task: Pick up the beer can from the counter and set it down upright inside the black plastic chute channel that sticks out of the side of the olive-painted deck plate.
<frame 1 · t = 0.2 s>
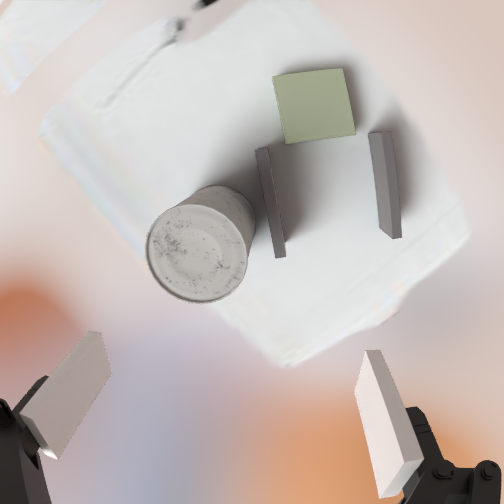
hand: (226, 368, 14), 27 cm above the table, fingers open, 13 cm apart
chute: (326, 188, 37), on the table
deck: (312, 107, 34), on the table
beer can: (217, 222, 40), on the table
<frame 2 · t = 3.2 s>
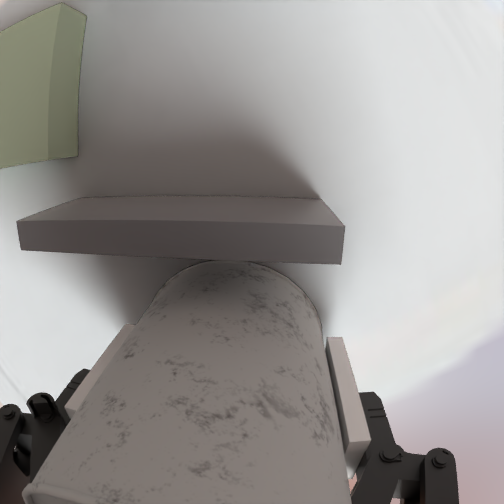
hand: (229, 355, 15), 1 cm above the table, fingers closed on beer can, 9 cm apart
chute: (189, 63, 12), on the table
deck: (27, 96, 13), on the table
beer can: (233, 340, 17), on the table, touching gripper
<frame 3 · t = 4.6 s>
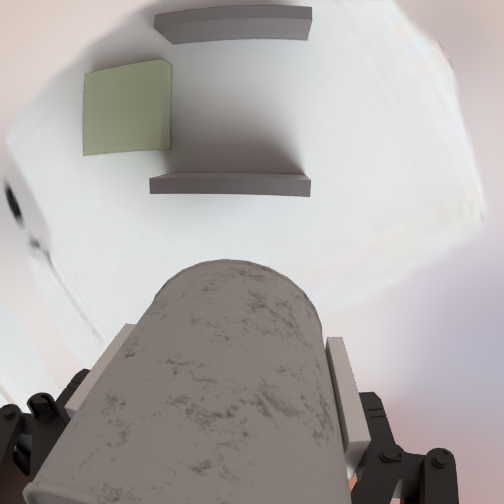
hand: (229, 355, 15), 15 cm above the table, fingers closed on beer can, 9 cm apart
chute: (237, 102, 25), on the table
deck: (131, 110, 26), on the table
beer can: (233, 340, 17), point 13 cm above the table, touching gripper
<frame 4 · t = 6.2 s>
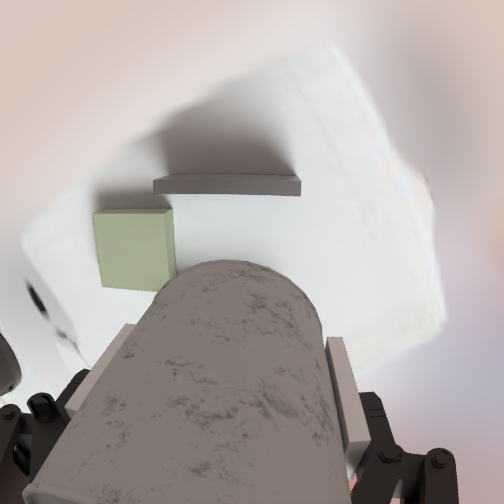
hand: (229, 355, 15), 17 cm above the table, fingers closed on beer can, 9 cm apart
chute: (232, 249, 32), on the table
deck: (139, 245, 32), on the table
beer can: (233, 341, 17), point 16 cm above the table, touching gripper
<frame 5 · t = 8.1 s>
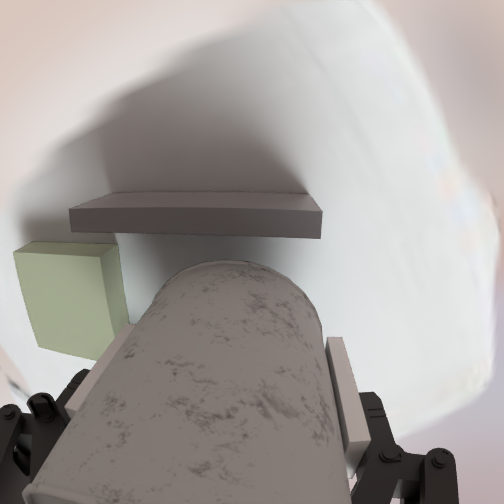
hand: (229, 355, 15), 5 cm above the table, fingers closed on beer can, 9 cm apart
chute: (208, 305, 20), on the table
deck: (79, 294, 21), on the table
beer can: (233, 340, 17), point 4 cm above the table, touching gripper
when the fingers open (3 cm above the table, at t = 9.6 s): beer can drops 2 cm, on the table.
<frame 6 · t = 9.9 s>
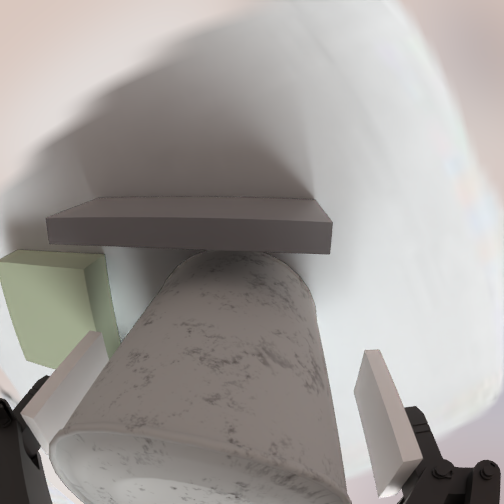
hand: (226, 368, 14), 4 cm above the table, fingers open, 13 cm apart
chute: (203, 321, 18), on the table
deck: (66, 306, 19), on the table
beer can: (235, 322, 19), on the table
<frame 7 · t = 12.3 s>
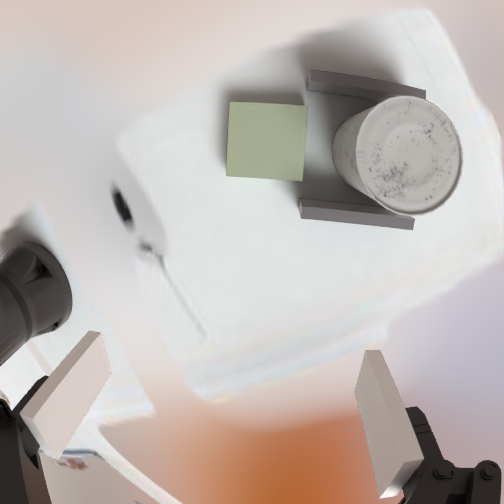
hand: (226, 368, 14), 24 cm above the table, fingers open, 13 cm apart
chute: (356, 150, 33), on the table
deck: (267, 141, 34), on the table
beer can: (372, 152, 33), on the table
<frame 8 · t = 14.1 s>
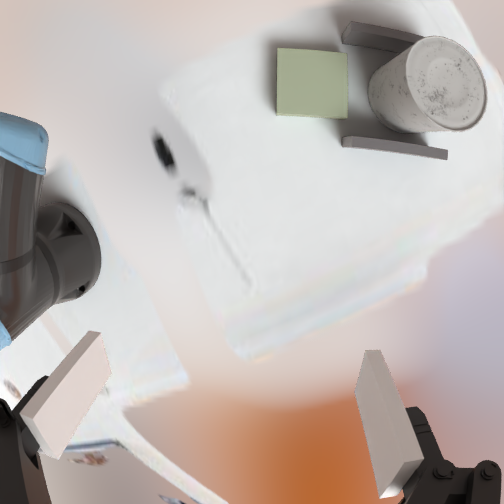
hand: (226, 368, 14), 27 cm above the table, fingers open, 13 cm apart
chute: (389, 94, 33), on the table
deck: (310, 85, 34), on the table
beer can: (402, 97, 33), on the table
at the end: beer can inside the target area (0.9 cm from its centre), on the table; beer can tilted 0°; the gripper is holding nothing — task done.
